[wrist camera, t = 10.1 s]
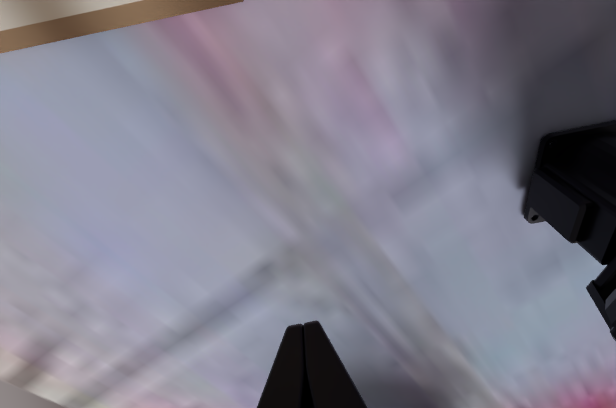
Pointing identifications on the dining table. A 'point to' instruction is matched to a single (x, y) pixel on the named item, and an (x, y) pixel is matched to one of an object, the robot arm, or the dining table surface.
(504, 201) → the dining table surface
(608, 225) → the robot arm
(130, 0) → the picture frame
